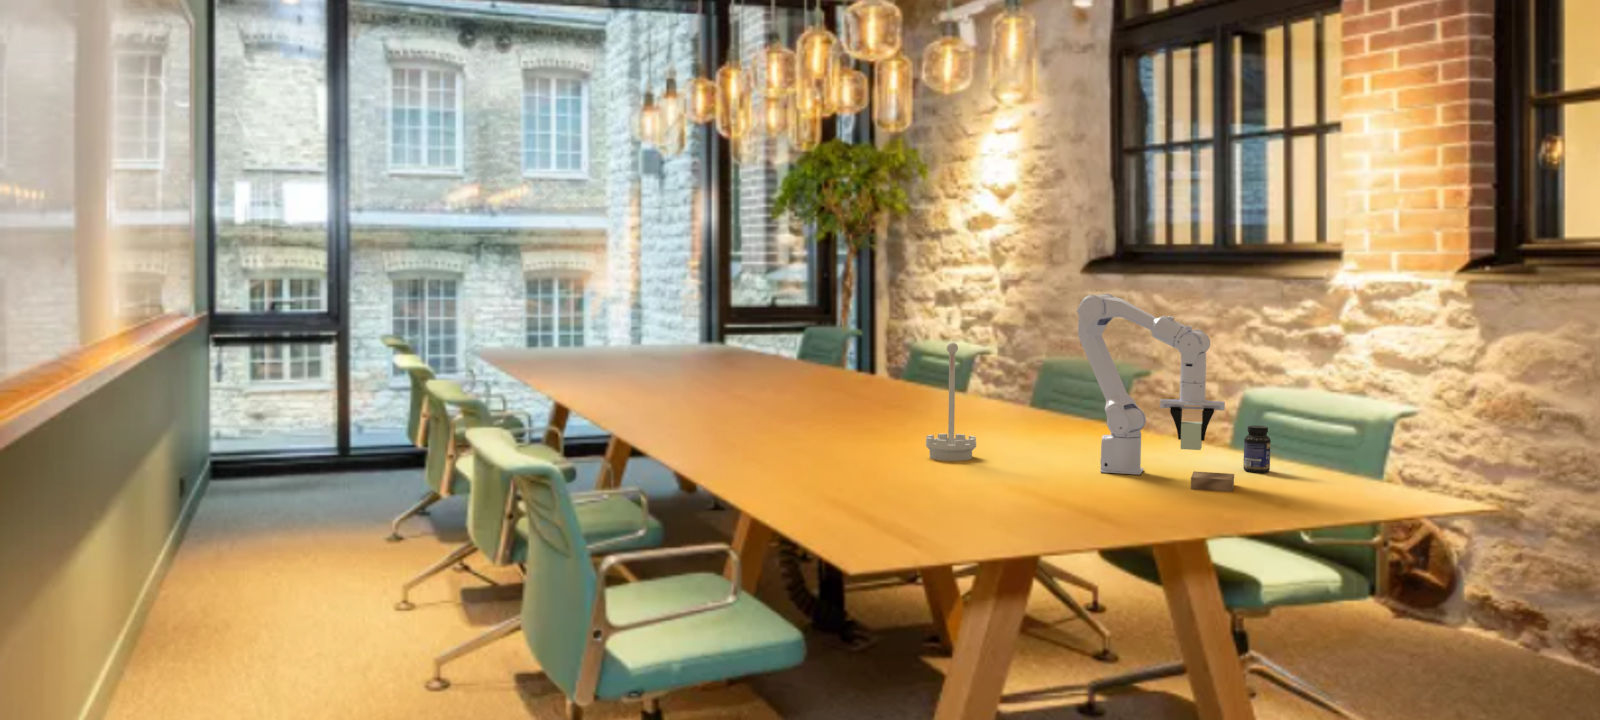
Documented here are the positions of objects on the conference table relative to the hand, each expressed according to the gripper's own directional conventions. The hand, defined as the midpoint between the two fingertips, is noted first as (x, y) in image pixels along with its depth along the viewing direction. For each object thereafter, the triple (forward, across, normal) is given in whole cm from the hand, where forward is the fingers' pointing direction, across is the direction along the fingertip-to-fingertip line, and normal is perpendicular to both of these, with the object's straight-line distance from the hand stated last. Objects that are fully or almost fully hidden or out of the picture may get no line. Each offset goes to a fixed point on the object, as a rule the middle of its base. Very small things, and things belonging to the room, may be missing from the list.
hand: (1191, 439), depth 307 cm
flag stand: (+10, -60, +11) cm, 62 cm away
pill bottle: (+10, +14, +18) cm, 25 cm away
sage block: (+2, 0, 0) cm, 2 cm away
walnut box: (+10, +5, -8) cm, 14 cm away
